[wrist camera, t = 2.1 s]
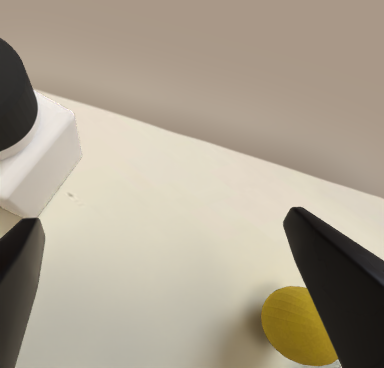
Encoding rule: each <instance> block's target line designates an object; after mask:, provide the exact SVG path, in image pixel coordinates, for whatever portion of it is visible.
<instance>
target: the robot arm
mask: <svg viewBox="0 0 384 368" xmlns="http://www.w3.org/2000/svg"><path fill="white" fill-rule="evenodd" d="M283 227H284V230H285V233H286V236H287V239H288V242H289V245H290V248H291V251H292V254H293V257H294V260H295V262H296V265H297V267H298V269H299V272H300V274H301V276H302V278H303V281H304V283H305V285H306V287H307V290H308V292H309V294H310V296H311V298H312V301H313V303H314V305H315V307H316V310H317V312H318V314H319V316H320V319H321V321H322V323H323V325H324V328H325V330H326V332H327V334H328V337H329V339H330V341H331V343H332V346H333V348H334V350H335V352H336V355H337V357H338V359H339V361H340V364H341V366H342V368H384V261H383V260H382V259H380V258H379V257H377V256H376V255H374V254H373V253H371V252H370V251H368V250H367V249H365V248H363V247H362V246H360V245H359V244H357V243H356V242H354V241H353V240H351V239H350V238H348V237H347V236H345V235H344V234H342V233H341V232H339V231H338V230H336V229H335V228H333V227H332V226H330V225H329V224H327V223H325V222H324V221H322V220H321V219H319V218H318V217H316V216H315V215H313V214H312V213H310V212H309V211H307V210H306V209H304V208H302V207H292V208H291V209H290V210H289V212H288V214H287V216H286V217H285V219H284V221H283ZM44 244H45V233H44V230H43V227H42V224H41V221H40V219H39V218H36V217H34V218H23V219H22V220H20V221H19V222H18V223H17V224H16V225H15V226H14V227H13V228H12V229H10V230H9V231H8V232H7V233H6V234H5V235H4V236H3V237H2V238H1V239H0V368H15V365H16V362H17V358H18V355H19V351H20V348H21V344H22V341H23V337H24V334H25V330H26V327H27V323H28V320H29V316H30V313H31V309H32V306H33V302H34V299H35V295H36V292H37V288H38V282H39V276H40V270H41V264H42V257H43V251H44Z"/></svg>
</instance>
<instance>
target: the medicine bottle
mask: <svg viewBox="0 0 384 368" xmlns="http://www.w3.org/2000/svg"><path fill="white" fill-rule="evenodd" d="M81 158H82V150H81V145H80V140H79V134H78V129H77V124H76V118H75V114H74V113H73V112H72V111H71V110H69V109H67V108H65V107H64V106H62V105H60V104H58V103H57V102H55V101H53V100H51V99H49V98H48V97H46V96H44V95H42V94H40V93H39V92H37V91H35V90H33V88H32V86H31V83H30V80H29V78H28V75H27V73H26V70H25V68H24V65H23V63H22V60H21V59H20V57H19V55H18V54H17V53H16V51H15V50H14V49H13V48H12V47H11V46H10V45H9V44H8V43H7V42H5V41H4V40H2V39H1V38H0V207H1V208H3V209H6V210H8V211H10V212H12V213H14V214H16V215H18V216H20V217H22V218H34V217H36V218H37V217H38V215H39V214H40V213H41V211H42V210H43V209H44V207H45V206H46V205H47V203H48V202H49V201H50V199H51V198H52V197H53V195H54V194H55V193H56V191H57V190H58V189H59V187H60V186H61V184H62V183H63V182H64V180H65V179H66V178H67V176H68V175H69V174H70V172H71V171H72V170H73V168H74V167H75V166H76V164H77V163H78V162H79V160H80V159H81Z"/></svg>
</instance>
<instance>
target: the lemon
mask: <svg viewBox="0 0 384 368" xmlns="http://www.w3.org/2000/svg"><path fill="white" fill-rule="evenodd" d="M261 321H262V326H263V330H264V332H265V335H266V337H267V339H268V340H269V341H270V343H271V344H272V346H273V347H274V348H275V349H276V350H277V351H279V352H280V353H281V354H282V355H283V356H285V357H286V358H288V359H290V360H293V361H295V362H297V363H300V364H303V365H311V366H324V365H327V364H331V363H333V362H335V361H336V360H337V359H338V357H337V355H336V352H335V350H334V348H333V346H332V343H331V341H330V339H329V337H328V334H327V332H326V330H325V328H324V325H323V323H322V321H321V319H320V316H319V314H318V312H317V310H316V307H315V305H314V303H313V301H312V298H311V296H310V294H309V292H308V290H307V288H304V287H292V286H289V287H284V288H281V289H278V290H276V291H274V292H273V293H272V294H270V295H269V297H268V298H267V299H266V301H265V303H264V305H263V308H262V313H261Z"/></svg>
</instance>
